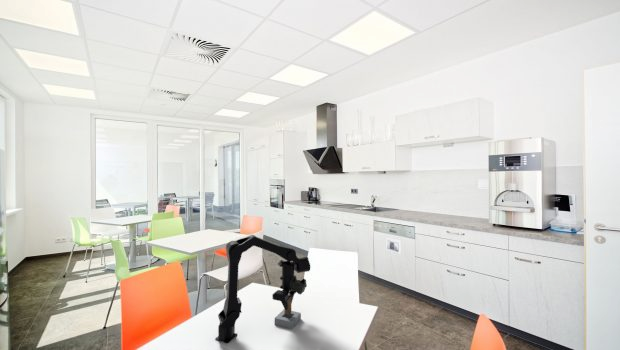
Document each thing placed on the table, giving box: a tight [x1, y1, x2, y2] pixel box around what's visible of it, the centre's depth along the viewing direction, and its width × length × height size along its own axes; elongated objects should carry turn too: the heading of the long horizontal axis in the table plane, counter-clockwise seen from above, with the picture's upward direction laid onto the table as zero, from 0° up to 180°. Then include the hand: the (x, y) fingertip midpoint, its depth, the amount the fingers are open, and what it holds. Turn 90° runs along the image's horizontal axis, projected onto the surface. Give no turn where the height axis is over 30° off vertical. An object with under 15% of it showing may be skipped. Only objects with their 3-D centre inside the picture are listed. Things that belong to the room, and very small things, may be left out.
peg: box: [283, 294, 292, 314], centre depth 127 cm, size 3×3×8 cm
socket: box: [274, 309, 302, 330], centre depth 127 cm, size 9×9×3 cm
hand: (287, 307), depth 127 cm, fingers closed on peg, 3 cm apart
